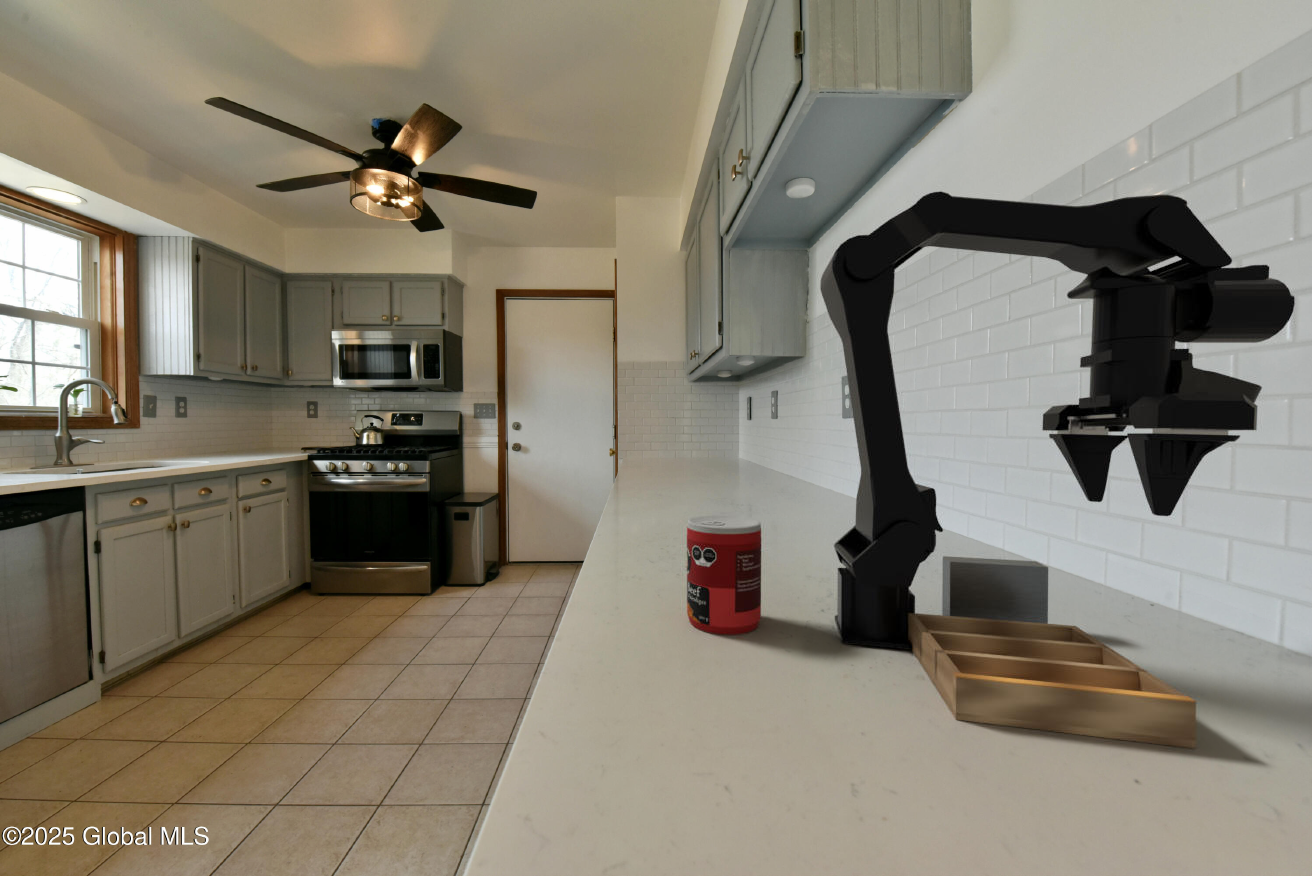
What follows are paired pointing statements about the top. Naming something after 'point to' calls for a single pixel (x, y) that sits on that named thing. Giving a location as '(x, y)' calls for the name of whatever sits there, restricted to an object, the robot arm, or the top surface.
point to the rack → (1047, 680)
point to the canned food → (724, 574)
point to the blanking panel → (995, 589)
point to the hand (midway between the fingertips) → (1125, 507)
